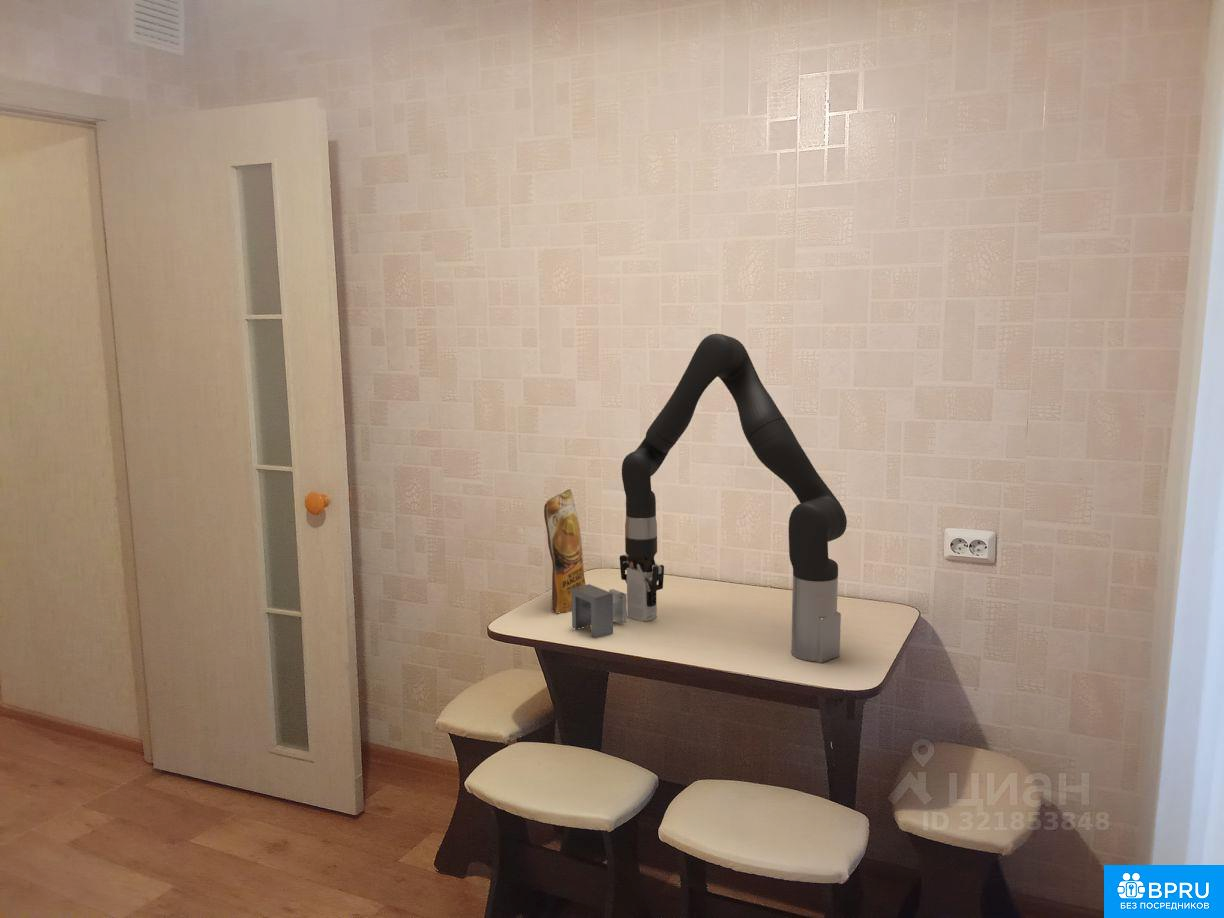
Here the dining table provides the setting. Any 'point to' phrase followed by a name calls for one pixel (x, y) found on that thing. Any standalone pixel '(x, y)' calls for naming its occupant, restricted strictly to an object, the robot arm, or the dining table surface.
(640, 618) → the skincare box
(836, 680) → the dining table surface
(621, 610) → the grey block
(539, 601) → the dining table surface
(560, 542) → the pancake mix bag
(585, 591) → the grey hollow block
